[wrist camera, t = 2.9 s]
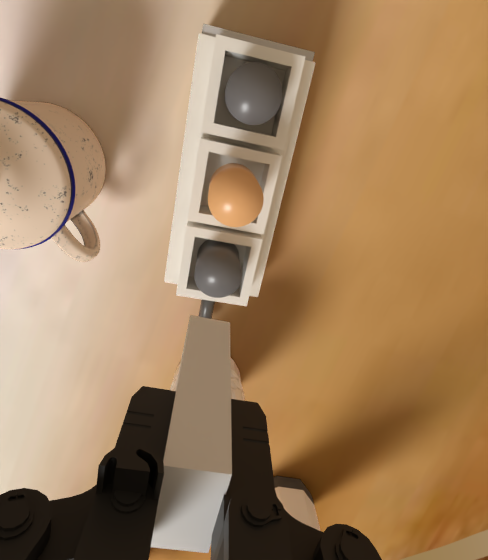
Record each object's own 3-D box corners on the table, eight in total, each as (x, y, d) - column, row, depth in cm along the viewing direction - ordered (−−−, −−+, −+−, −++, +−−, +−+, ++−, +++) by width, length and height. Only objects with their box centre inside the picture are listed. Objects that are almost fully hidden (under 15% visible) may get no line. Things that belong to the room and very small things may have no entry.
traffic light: (162, 314, 37) (152, 349, 32) (202, 32, 28) (198, 13, 23) (243, 326, 38) (247, 362, 33) (307, 59, 29) (327, 47, 24)
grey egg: (220, 117, 27) (220, 118, 23) (229, 63, 26) (231, 55, 22) (267, 128, 28) (274, 130, 24) (278, 75, 26) (288, 69, 23)
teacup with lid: (-35, 140, 30) (-174, 156, 19) (56, 73, 29) (-40, 50, 18) (70, 262, 34) (4, 330, 24) (154, 209, 33) (123, 256, 22)
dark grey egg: (194, 272, 32) (191, 293, 28) (200, 233, 30) (198, 250, 27) (234, 279, 32) (236, 300, 28) (242, 241, 31) (246, 258, 27)
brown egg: (205, 207, 28) (203, 221, 24) (213, 158, 26) (213, 166, 23) (251, 215, 28) (256, 231, 24) (262, 168, 27) (269, 177, 23)
